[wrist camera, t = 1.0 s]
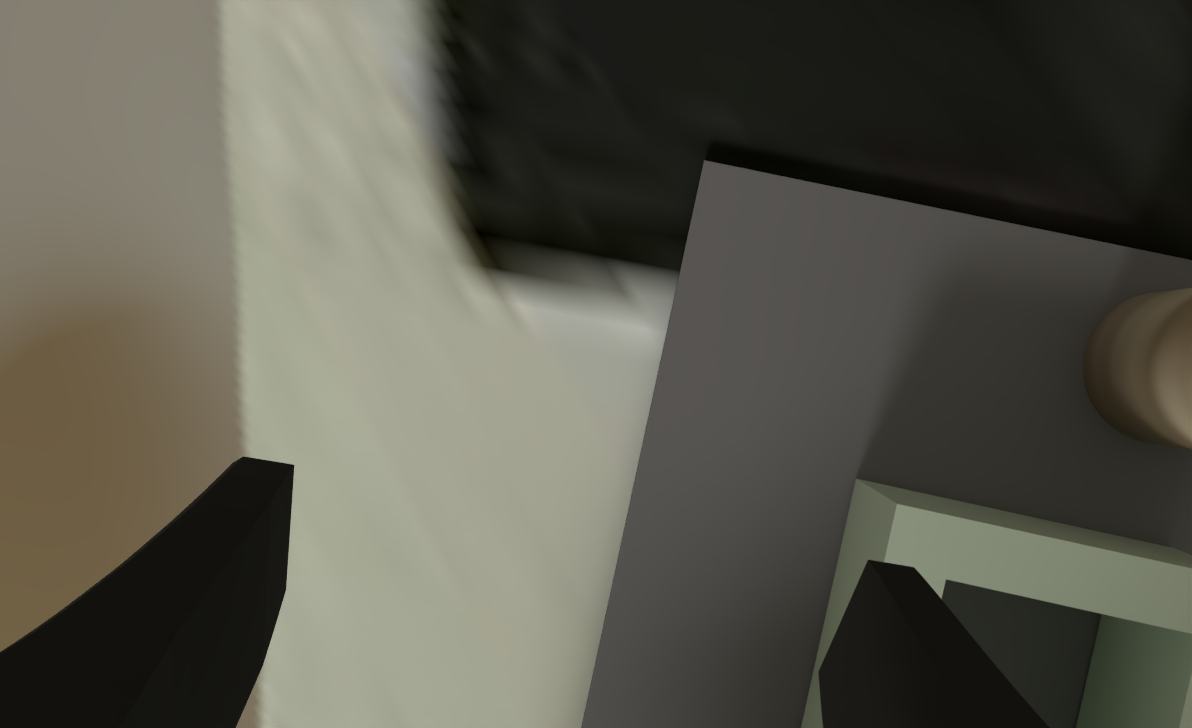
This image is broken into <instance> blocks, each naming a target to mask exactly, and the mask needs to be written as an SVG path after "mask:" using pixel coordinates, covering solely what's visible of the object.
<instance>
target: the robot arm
mask: <svg viewBox="0 0 1192 728" xmlns="http://www.w3.org/2000/svg"><path fill="white" fill-rule="evenodd" d="M293 475H294V465H291V464H285V463H279V462H273V461H267V460H261V459H255V458H249V457H242V458H240V459H238V460H237V461H235V462H233V463H232V464H231V465H230V466H229V467H228V469H226V470H225V471H224V472H223V473H222V474H221V475H220V476H219V477H218V478H217V479H216V480H215V481H214V482H213V483H212V484H211V485H210V486H209V487H208V488H207V489H206V490H205V491H204V492H203V493H202V494H201V495H199V496H198V497H197V498H196V499H195V500H194V501H193V502H192V503H191V504H190V505H189V506H188V507H187V508H185V509H184V510H183V511H182V512H181V513H180V514H179V515H178V516H177V517H176V518H174V519H173V520H172V521H171V522H170V523H169V524H168V525H167V526H165V527H164V528H163V529H162V530H161V531H160V532H158V533H157V534H156V535H155V536H154V537H153V538H151V539H150V540H149V541H148V542H147V543H146V544H144V545H143V546H142V547H141V548H140V549H139V550H137V552H135V553H134V554H133V555H132V556H130V557H129V558H128V559H127V560H126V561H124V562H123V563H122V564H121V565H120V566H118V567H117V568H116V569H115V570H113V571H112V572H111V573H109V574H108V575H107V576H106V577H104V578H103V579H102V580H100V581H99V582H98V583H96V584H95V585H94V586H93V587H91V588H90V589H89V590H87V591H86V592H85V593H84V594H82V595H81V596H79V597H78V598H77V599H76V600H74V601H73V602H72V603H70V604H69V605H68V606H66V607H65V608H64V609H63V610H61V611H60V612H58V613H57V614H56V615H54V616H53V617H51V618H50V619H48V620H47V621H46V622H44V623H43V624H41V625H40V626H39V627H37V628H36V629H34V630H33V631H31V632H30V633H28V634H27V635H25V636H24V637H23V638H21V639H20V640H18V641H17V642H15V643H14V644H12V645H10V646H9V647H7V648H6V649H4V650H3V651H1V652H0V728H236V725H237V723H238V721H239V719H240V716H241V714H242V712H243V710H244V707H245V705H246V703H247V700H248V698H249V696H250V694H251V691H252V689H253V687H254V684H255V682H256V680H257V677H258V675H259V673H260V671H261V668H262V666H263V663H264V660H265V657H266V653H267V650H268V647H269V644H270V641H271V637H272V634H273V631H274V628H275V624H276V621H277V618H278V615H279V611H280V608H281V605H282V601H283V598H284V595H285V591H286V580H287V565H288V550H289V535H290V520H291V505H292V490H293ZM818 675H819V687H820V700H821V712H822V722H823V728H1049V726H1048V725H1047V724H1046V723H1045V722H1044V721H1043V720H1042V719H1041V717H1040V716H1039V715H1038V714H1037V713H1036V712H1035V711H1034V710H1033V708H1032V707H1031V706H1030V705H1029V704H1028V703H1027V702H1026V700H1025V699H1024V698H1023V697H1022V696H1021V695H1020V694H1019V692H1018V691H1017V690H1016V689H1015V688H1014V687H1013V685H1012V684H1011V683H1010V682H1009V681H1008V679H1007V678H1006V677H1005V676H1004V675H1003V674H1002V672H1001V671H1000V670H999V669H998V668H997V666H996V665H995V664H994V663H993V662H992V660H991V659H990V658H989V657H988V656H987V654H986V653H985V652H984V651H983V649H982V648H981V647H980V646H979V645H978V643H977V642H976V641H975V640H974V638H973V637H972V636H971V635H970V634H969V632H968V631H967V630H966V629H965V627H964V626H963V625H962V624H961V623H960V621H959V620H958V619H957V618H956V616H955V615H954V614H953V613H952V611H951V610H950V609H949V608H948V607H947V605H946V604H945V603H944V602H943V600H942V599H941V598H940V597H939V596H938V594H937V593H936V592H935V591H934V589H933V588H932V587H931V586H930V585H929V584H928V582H927V581H926V580H925V579H924V578H923V577H922V575H921V574H920V573H919V572H918V571H917V570H916V569H915V568H914V567H910V566H904V565H898V564H892V563H886V562H880V561H874V560H868V561H867V563H866V565H865V568H864V570H863V572H862V574H861V577H860V579H859V581H858V583H857V586H856V588H855V590H854V592H853V595H852V597H851V599H850V601H849V604H848V606H847V608H846V610H845V613H844V615H843V617H842V620H841V622H840V624H839V626H838V629H837V631H836V633H835V635H834V638H833V640H832V642H831V644H830V647H829V649H828V651H827V653H826V656H825V658H824V660H823V662H822V665H821V667H820V669H819V671H818Z"/></svg>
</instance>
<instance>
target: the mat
mask: <svg viewBox="0 0 1192 728" xmlns="http://www.w3.org/2000/svg"><path fill="white" fill-rule="evenodd" d="M1186 288H1192V260H1188V259H1183V258H1178V257H1173V256H1169V255H1164V254H1159V253H1154V252H1149V251H1144V250H1139V249H1134V248H1130V247H1125V246H1120V245H1115V244H1110V243H1105V242H1100V241H1095V240H1091V239H1086V238H1081V237H1076V236H1071V235H1066V234H1061V233H1056V232H1052V231H1047V230H1042V229H1037V228H1032V227H1027V226H1022V225H1017V224H1013V223H1008V222H1003V221H998V220H993V219H988V218H983V217H978V216H974V215H969V214H964V213H959V212H954V211H949V210H944V209H939V208H935V207H930V206H925V205H920V204H915V203H910V202H905V201H901V200H896V199H891V198H886V197H881V196H876V195H871V194H866V193H862V192H857V191H852V190H847V189H842V188H837V187H832V186H827V185H823V184H818V183H813V182H808V181H803V180H798V179H793V178H788V177H784V176H779V175H774V174H769V173H764V172H759V171H754V170H749V169H745V168H740V167H735V166H730V165H725V164H720V163H715V162H710V161H706V160H704V163H703V168H702V172H701V177H700V182H699V186H698V191H697V195H696V200H695V205H694V209H693V214H692V219H691V223H690V228H689V232H688V237H687V242H686V246H685V251H684V256H683V260H682V265H681V269H680V274H679V279H678V283H677V288H676V293H675V297H674V302H673V306H672V311H671V316H670V320H669V325H668V330H667V334H666V339H665V343H664V348H663V353H662V357H661V362H660V367H659V371H658V376H657V380H656V385H655V390H654V394H653V399H652V404H651V408H650V413H649V418H648V422H647V427H646V431H645V436H644V441H643V445H642V450H641V455H640V459H639V464H638V468H637V473H636V478H635V482H634V487H633V492H632V496H631V501H630V505H629V510H628V515H627V519H626V524H625V529H624V533H623V538H622V542H621V547H620V552H619V556H618V561H617V566H616V570H615V575H614V579H613V584H612V589H611V593H610V598H609V603H608V607H607V612H606V616H605V621H604V626H603V630H602V635H601V640H600V644H599V649H598V654H597V658H596V663H595V667H594V672H593V677H592V681H591V686H590V691H589V695H588V700H587V704H586V709H585V714H584V718H583V723H582V728H801V725H802V720H803V716H804V711H805V707H806V702H807V698H808V693H809V689H810V684H811V680H812V675H813V670H814V666H815V661H816V657H817V652H818V648H819V643H820V639H821V634H822V630H823V625H824V621H825V616H826V612H827V607H828V603H829V598H830V594H831V589H832V584H833V580H834V575H835V571H836V566H837V562H838V557H839V553H840V548H841V544H842V539H843V535H844V530H845V526H846V521H847V517H848V512H849V508H850V503H851V498H852V494H853V489H854V485H855V480H856V479H861V480H865V481H870V482H874V483H879V484H884V485H888V486H893V487H897V488H902V489H906V490H911V491H916V492H920V493H925V494H929V495H934V496H938V497H943V498H948V499H952V500H957V501H961V502H966V503H970V504H975V505H980V506H984V507H989V508H993V509H998V510H1003V511H1007V512H1012V513H1016V514H1021V515H1025V516H1030V517H1035V518H1039V519H1044V520H1048V521H1053V522H1057V523H1062V524H1067V525H1071V526H1076V527H1080V528H1085V529H1089V530H1094V531H1099V532H1103V533H1108V534H1112V535H1117V536H1121V537H1126V538H1131V539H1135V540H1140V541H1144V542H1149V543H1154V544H1158V545H1163V546H1167V547H1172V548H1175V549H1178V550H1180V551H1183V552H1186V553H1188V554H1191V555H1192V450H1189V449H1184V448H1178V447H1173V446H1167V445H1161V444H1156V443H1150V442H1145V441H1141V440H1137V439H1134V438H1131V437H1129V436H1127V435H1124V434H1123V433H1121V432H1119V431H1118V430H1116V429H1115V428H1113V427H1112V426H1111V425H1109V424H1108V423H1107V422H1106V421H1105V420H1104V419H1103V418H1102V417H1101V416H1100V414H1099V413H1098V412H1097V410H1096V409H1095V408H1094V406H1093V404H1092V402H1091V400H1090V398H1089V396H1088V393H1087V391H1086V387H1085V383H1084V376H1083V359H1084V353H1085V349H1086V346H1087V342H1088V340H1089V338H1090V335H1091V333H1092V332H1093V330H1094V328H1095V327H1096V325H1097V324H1098V323H1099V321H1100V320H1101V319H1102V318H1103V317H1104V316H1105V315H1106V314H1107V313H1108V312H1109V311H1110V310H1111V309H1113V308H1114V307H1115V306H1117V305H1118V304H1120V303H1122V302H1123V301H1125V300H1127V299H1130V298H1132V297H1135V296H1138V295H1142V294H1146V293H1153V292H1161V291H1170V290H1178V289H1186ZM942 600H943V602H944V603H945V604H946V605H947V607H948V608H949V609H950V610H951V611H952V613H953V614H954V615H955V616H956V618H957V619H958V620H959V621H960V623H961V624H962V625H963V626H964V627H965V629H966V630H967V631H968V632H969V634H970V635H971V636H972V637H973V638H974V640H975V641H976V642H977V643H978V645H979V646H980V647H981V648H982V649H983V651H984V652H985V653H986V654H987V656H988V657H989V658H990V659H991V660H992V662H993V663H994V664H995V665H996V666H997V668H998V669H999V670H1000V671H1001V672H1002V674H1003V675H1004V676H1005V677H1006V678H1007V679H1008V681H1009V682H1010V683H1011V684H1012V685H1013V687H1014V688H1015V689H1016V690H1017V691H1018V692H1019V694H1020V695H1021V696H1022V697H1023V698H1024V699H1025V700H1026V702H1027V703H1028V704H1029V705H1030V706H1031V707H1032V708H1033V710H1034V711H1035V712H1036V713H1037V714H1038V715H1039V716H1040V717H1041V719H1042V720H1043V721H1044V722H1045V723H1046V724H1047V725H1048V726H1049V728H1076V725H1077V720H1078V716H1079V711H1080V707H1081V703H1082V698H1083V694H1084V689H1085V685H1086V681H1087V676H1088V672H1089V667H1090V663H1091V659H1092V654H1093V650H1094V645H1095V641H1096V637H1097V632H1098V628H1099V623H1100V619H1101V615H1102V614H1100V613H1095V612H1091V611H1086V610H1082V609H1077V608H1073V607H1068V606H1064V605H1059V604H1055V603H1050V602H1046V601H1041V600H1037V599H1032V598H1028V597H1023V596H1019V595H1014V594H1010V593H1005V592H1001V591H996V590H992V589H987V588H983V587H978V586H974V585H969V584H965V583H960V582H956V581H951V580H947V579H946V581H945V586H944V590H943V595H942Z"/></svg>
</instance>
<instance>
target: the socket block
mask: <svg viewBox="0 0 1192 728" xmlns="http://www.w3.org/2000/svg"><path fill="white" fill-rule="evenodd" d="M868 560H874V561H880V562H886V563H892V564H898V565H904V566H910V567H914V568H915V569H916V570H917V571H918V572H919V573H920V574H921V575H922V577H923V578H924V579H925V580H926V581H927V582H928V584H929V585H930V586H931V587H932V588H933V589H934V591H935V592H936V593H937V594H938V596H939V597H940V598H941V599H942V595H943V590H944V586H945V581H946V579H947V580H951V581H956V582H960V583H965V584H969V585H974V586H978V587H983V588H987V589H992V590H996V591H1001V592H1005V593H1010V594H1014V595H1019V596H1023V597H1028V598H1032V599H1037V600H1041V601H1046V602H1050V603H1055V604H1059V605H1064V606H1068V607H1073V608H1077V609H1082V610H1086V611H1091V612H1095V613H1100V614H1102V615H1101V619H1100V623H1099V628H1098V632H1097V637H1096V641H1095V645H1094V650H1093V654H1092V659H1091V663H1090V667H1089V672H1088V676H1087V681H1086V685H1085V689H1084V694H1083V698H1082V703H1081V707H1080V711H1079V716H1078V720H1077V725H1076V728H1192V555H1191V554H1188V553H1186V552H1183V551H1180V550H1178V549H1175V548H1172V547H1167V546H1163V545H1158V544H1154V543H1149V542H1144V541H1140V540H1135V539H1131V538H1126V537H1121V536H1117V535H1112V534H1108V533H1103V532H1099V531H1094V530H1089V529H1085V528H1080V527H1076V526H1071V525H1067V524H1062V523H1057V522H1053V521H1048V520H1044V519H1039V518H1035V517H1030V516H1025V515H1021V514H1016V513H1012V512H1007V511H1003V510H998V509H993V508H989V507H984V506H980V505H975V504H970V503H966V502H961V501H957V500H952V499H948V498H943V497H938V496H934V495H929V494H925V493H920V492H916V491H911V490H906V489H902V488H897V487H893V486H888V485H884V484H879V483H874V482H870V481H865V480H861V479H856V480H855V485H854V489H853V494H852V498H851V503H850V508H849V512H848V517H847V521H846V526H845V530H844V535H843V539H842V544H841V548H840V553H839V557H838V562H837V566H836V571H835V575H834V580H833V584H832V589H831V594H830V598H829V603H828V607H827V612H826V616H825V621H824V625H823V630H822V634H821V639H820V643H819V648H818V652H817V657H816V661H815V666H814V670H813V675H812V680H811V684H810V689H809V693H808V698H807V702H806V707H805V711H804V716H803V720H802V725H801V728H823V722H822V712H821V700H820V687H819V675H818V671H819V669H820V667H821V665H822V662H823V660H824V658H825V656H826V653H827V651H828V649H829V647H830V644H831V642H832V640H833V638H834V635H835V633H836V631H837V629H838V626H839V624H840V622H841V620H842V617H843V615H844V613H845V610H846V608H847V606H848V604H849V601H850V599H851V597H852V595H853V592H854V590H855V588H856V586H857V583H858V581H859V579H860V577H861V574H862V572H863V570H864V568H865V565H866V563H867V561H868Z"/></svg>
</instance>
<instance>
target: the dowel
mask: <svg viewBox="0 0 1192 728" xmlns="http://www.w3.org/2000/svg"><path fill="white" fill-rule="evenodd" d="M1083 376H1084V383H1085V387H1086V391H1087V393H1088V396H1089V398H1090V400H1091V402H1092V404H1093V406H1094V408H1095V409H1096V410H1097V412H1098V413H1099V414H1100V416H1101V417H1102V418H1103V419H1104V420H1105V421H1106V422H1107V423H1108V424H1109V425H1111V426H1112V427H1113V428H1115V429H1116V430H1118V431H1119V432H1121V433H1123V434H1124V435H1127V436H1129V437H1131V438H1134V439H1137V440H1141V441H1145V442H1150V443H1156V444H1161V445H1167V446H1173V447H1178V448H1184V449H1189V450H1192V288H1186V289H1178V290H1170V291H1161V292H1153V293H1146V294H1142V295H1138V296H1135V297H1132V298H1130V299H1127V300H1125V301H1123V302H1122V303H1120V304H1118V305H1117V306H1115V307H1114V308H1113V309H1111V310H1110V311H1109V312H1108V313H1107V314H1106V315H1105V316H1104V317H1103V318H1102V319H1101V320H1100V321H1099V323H1098V324H1097V325H1096V327H1095V328H1094V330H1093V332H1092V333H1091V335H1090V338H1089V340H1088V342H1087V346H1086V349H1085V353H1084V359H1083Z"/></svg>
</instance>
